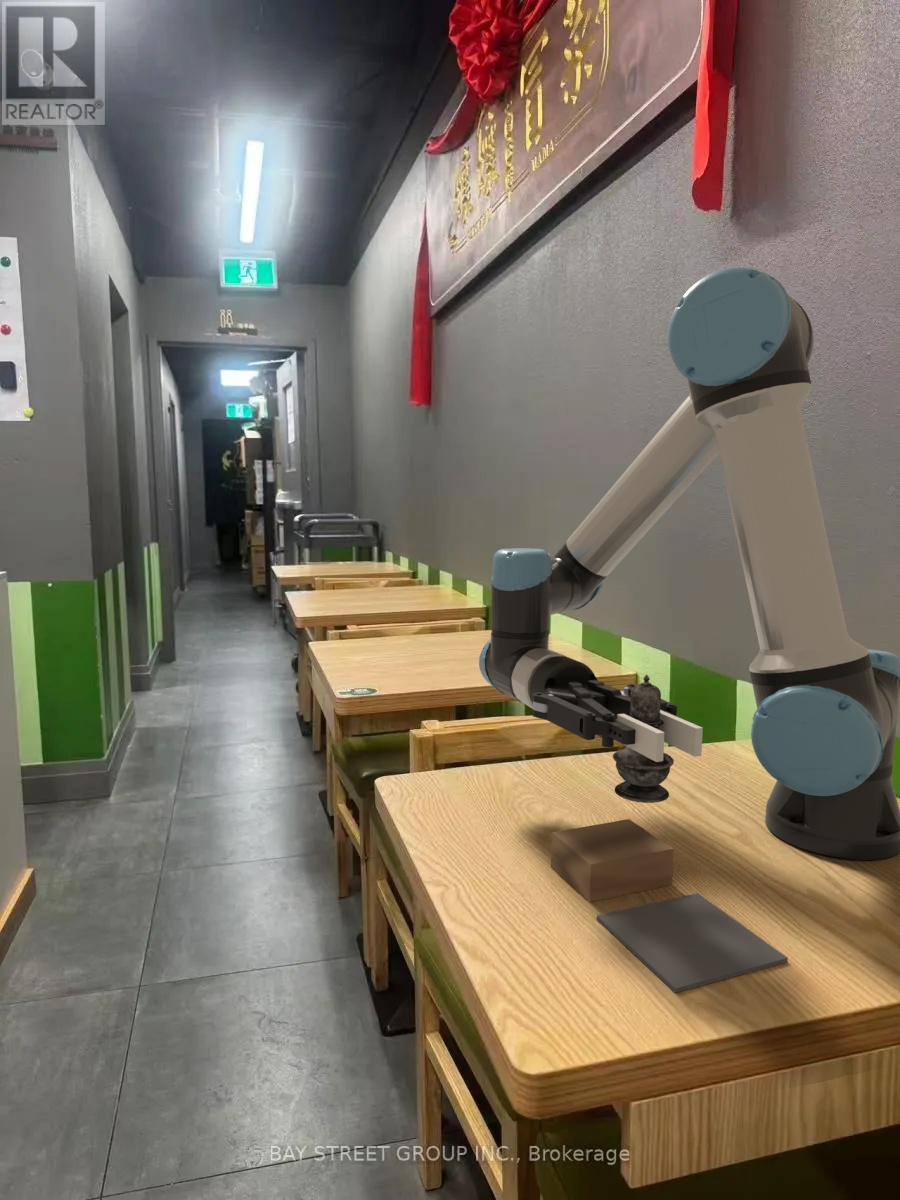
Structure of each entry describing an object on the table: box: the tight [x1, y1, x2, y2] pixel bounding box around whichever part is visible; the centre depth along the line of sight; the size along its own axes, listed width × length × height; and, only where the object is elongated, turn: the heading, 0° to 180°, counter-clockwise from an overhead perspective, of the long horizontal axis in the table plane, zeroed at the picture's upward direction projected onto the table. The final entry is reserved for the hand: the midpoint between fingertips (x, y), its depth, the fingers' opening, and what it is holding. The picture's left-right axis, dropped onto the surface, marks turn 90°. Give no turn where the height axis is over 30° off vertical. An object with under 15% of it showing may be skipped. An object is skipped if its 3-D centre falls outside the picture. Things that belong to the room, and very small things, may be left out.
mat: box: [596, 892, 789, 993], centre depth 72 cm, size 12×12×1 cm
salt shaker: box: [612, 674, 675, 804], centre depth 77 cm, size 6×6×12 cm
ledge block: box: [550, 818, 674, 903], centre depth 84 cm, size 8×10×4 cm
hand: (679, 744), depth 72 cm, fingers closed on salt shaker, 4 cm apart
